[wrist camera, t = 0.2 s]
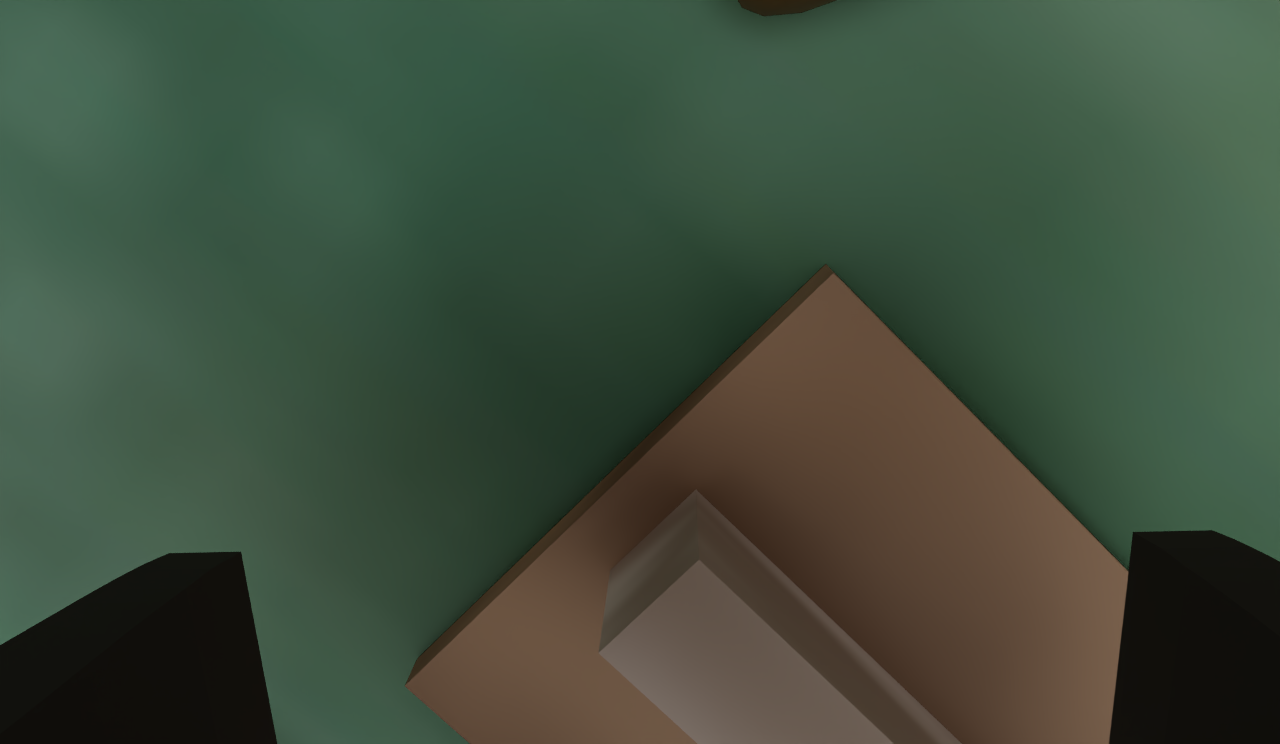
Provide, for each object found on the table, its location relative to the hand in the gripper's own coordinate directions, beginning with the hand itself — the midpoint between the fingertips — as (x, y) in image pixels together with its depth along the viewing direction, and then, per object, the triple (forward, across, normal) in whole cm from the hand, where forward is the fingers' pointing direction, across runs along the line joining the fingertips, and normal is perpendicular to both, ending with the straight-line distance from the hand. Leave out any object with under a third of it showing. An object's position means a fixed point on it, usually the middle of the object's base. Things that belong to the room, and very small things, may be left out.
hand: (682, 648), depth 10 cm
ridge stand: (+9, -4, +9) cm, 14 cm away
